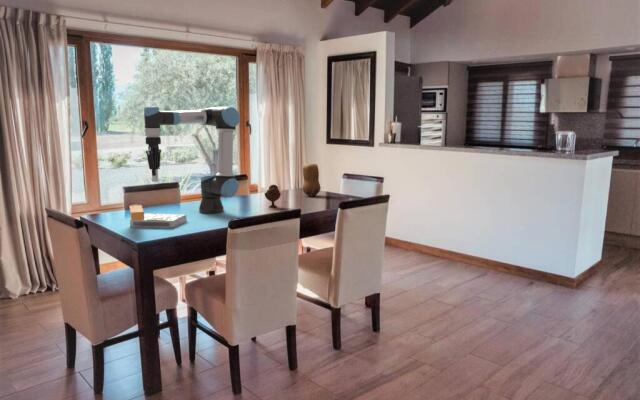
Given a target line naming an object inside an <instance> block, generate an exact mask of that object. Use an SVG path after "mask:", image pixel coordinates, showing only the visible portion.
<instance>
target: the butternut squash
mask: <svg viewBox="0 0 640 400" xmlns="http://www.w3.org/2000/svg"><path fill="white" fill-rule="evenodd" d="M302 175H303V184H302V191H303V193H304V194H305V195H307V196H308V197H316V196H317V195H318V194H319V193H320V191H321V188H322V187H321V185H320V184H321V183H320V181H319V178H320V177H319V176H320V171H319V167H318V164H316V163H306V164H303V166H302Z"/></svg>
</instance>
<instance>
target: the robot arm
mask: <svg viewBox="0 0 640 400" xmlns="http://www.w3.org/2000/svg"><path fill="white" fill-rule="evenodd" d="M143 110H144V111H143V116H144V117H143V118H144V133H145V136H146V137H145V144H146V145H148V146H147V150H146V151H145V154H146V159H147V162H148V163H147V164H148V168H149V170H151V181H152V183H158V182H159V170H160V168H161V156H162V155H161V153H162V149H161V148H160V146H159V145H161V144H162V139H161V136H162V134H161V126H177V125H190V124H191V125H192V124H194V125H195V124H196V125H197V124H198V125H200V126H212V127H215V130H216V131H217V132H218V137H217V138H218V141H217V142H218V144H217V146H218V149H217V150H218V151H217V153H218V155H217V161H218V162H217V163H218V164H217V165H218V166H217V173H215V174H210V175H209V174H208V175H203V176H201V177H200V193H201V200H200V204H199V207H198V212H199V213H200V214H219V213H222V212H223V213H224V211H225V209H224V205H223V202H222V199H221V198H226V199H227V198H233V197H234V196H235V195H236V194H237V193H238V191H239V188H240V186H239V182H238V180H237V179H236V174H235V173H234V172H233V165H234V163H233V162H234V160H233V159H234V155H233V153H234V152H233V151H234V133H235V131H237V129H236V128H237V126H239V123H240V120H241V117H240V114H239V111H238V110H237V109H236V108H235V107H233V106H213V107H212V106H211V107H208V108H199V109H198V110H160V108H159V106H144V108H143Z"/></svg>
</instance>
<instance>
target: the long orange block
mask: <svg viewBox="0 0 640 400" xmlns="http://www.w3.org/2000/svg"><path fill="white" fill-rule="evenodd" d="M144 214H145V211H144V209H143V205H142V204H131V205H129V216H130V219H131V220H132V221H133V220H144Z"/></svg>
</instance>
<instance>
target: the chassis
mask: <svg viewBox="0 0 640 400" xmlns="http://www.w3.org/2000/svg"><path fill="white" fill-rule="evenodd" d="M187 222H188V221H187V214H178V213H149V212H148V213H144V220H133V221H132V220H131V218H130V219H129V225H130V228H150V229H152V228H155V229H174V228H177V227H179V226H181V225H183V224H184V223H187Z"/></svg>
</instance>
